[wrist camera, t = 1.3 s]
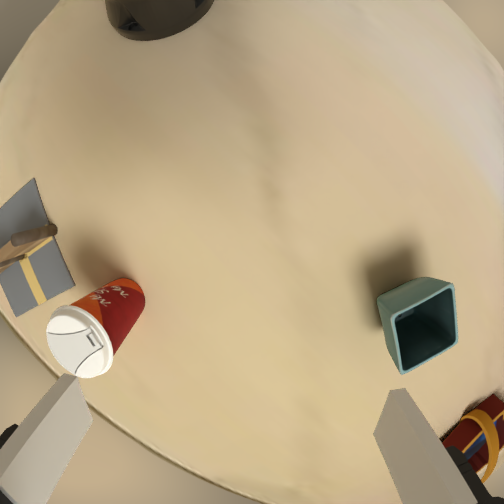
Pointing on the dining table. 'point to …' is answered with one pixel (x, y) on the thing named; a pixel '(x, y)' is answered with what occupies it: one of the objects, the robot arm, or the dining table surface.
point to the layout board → (31, 254)
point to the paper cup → (94, 327)
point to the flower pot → (418, 321)
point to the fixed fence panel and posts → (24, 243)
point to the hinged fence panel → (5, 267)
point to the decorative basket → (480, 435)
